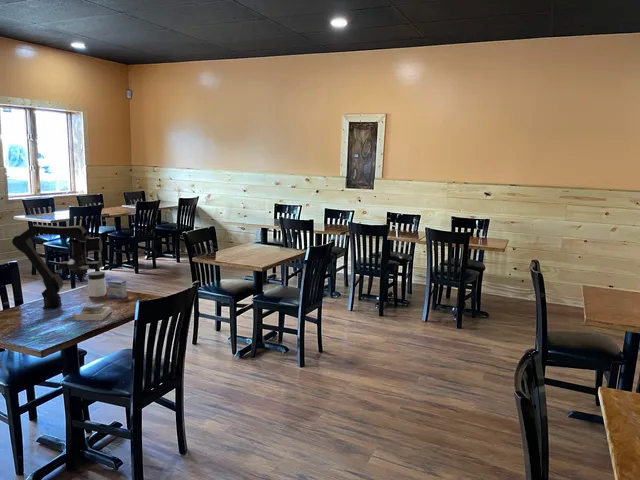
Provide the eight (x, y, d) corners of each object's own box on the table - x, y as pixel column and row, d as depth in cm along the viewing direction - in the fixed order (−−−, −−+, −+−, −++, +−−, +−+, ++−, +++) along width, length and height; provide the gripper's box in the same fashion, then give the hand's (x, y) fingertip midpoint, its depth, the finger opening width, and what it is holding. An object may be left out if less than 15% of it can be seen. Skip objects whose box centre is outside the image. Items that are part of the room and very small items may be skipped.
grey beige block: (81, 318, 216) (81, 310, 215) (86, 315, 221) (85, 307, 220) (99, 318, 217) (99, 310, 216) (103, 315, 221) (103, 307, 221)
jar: (91, 298, 246) (90, 276, 244) (86, 294, 252) (84, 273, 249) (109, 294, 252) (107, 273, 250) (103, 291, 258) (102, 270, 255)
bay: (73, 320, 213) (73, 315, 213) (84, 312, 224) (84, 307, 224) (101, 320, 214) (101, 314, 214) (111, 312, 225) (110, 307, 224)
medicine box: (108, 297, 247) (107, 281, 245) (113, 295, 251) (112, 279, 250) (122, 298, 246) (121, 282, 244) (127, 296, 250) (126, 280, 249)
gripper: (51, 254, 221) (54, 286, 223) (91, 255, 222) (94, 286, 225) (62, 250, 231) (65, 280, 234) (101, 250, 233) (103, 280, 236)
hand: (81, 282), depth 232 cm, fingers closed
